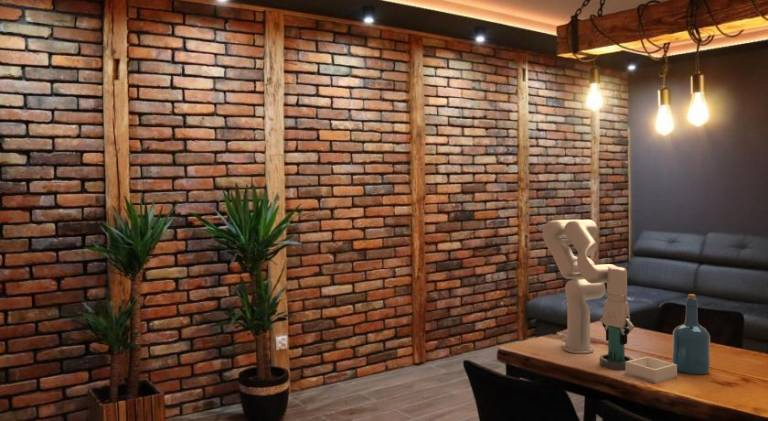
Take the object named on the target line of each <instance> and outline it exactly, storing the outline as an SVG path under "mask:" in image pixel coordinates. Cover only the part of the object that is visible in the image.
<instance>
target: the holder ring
mask: <svg viewBox="0 0 768 421" xmlns="http://www.w3.org/2000/svg"><path fill="white" fill-rule="evenodd" d="M624 356H625V358H624V362H615V361H609V360H608V353H605V354H601V355H600V356H599V363H598V364H599V366H601V367H602V368H605V369H608V370H614V371H625V362H626V361H630V360H634V358H632V357H631V356H629V355H626V354H624Z"/></svg>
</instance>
